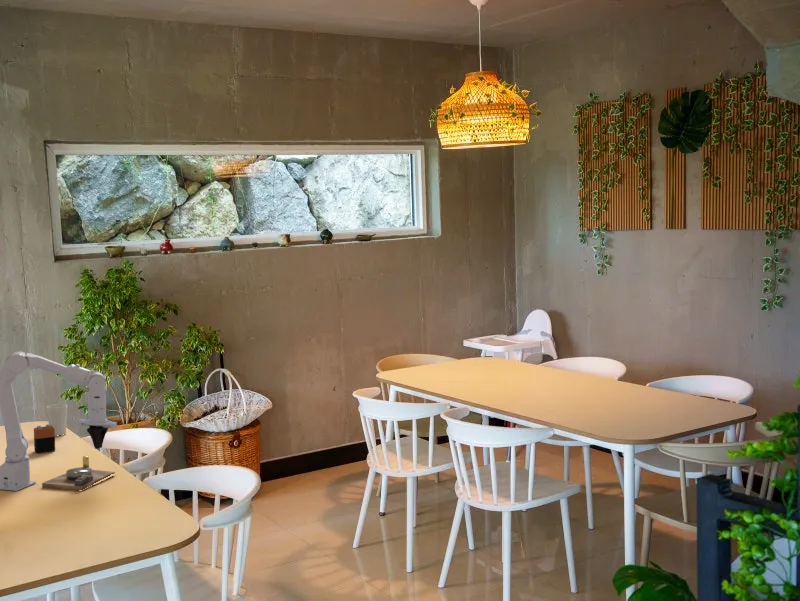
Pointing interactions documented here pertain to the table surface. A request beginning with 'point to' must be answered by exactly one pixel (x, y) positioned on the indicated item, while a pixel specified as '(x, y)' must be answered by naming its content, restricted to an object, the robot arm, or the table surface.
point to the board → (71, 483)
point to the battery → (44, 439)
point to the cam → (79, 470)
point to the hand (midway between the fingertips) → (98, 447)
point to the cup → (57, 417)
